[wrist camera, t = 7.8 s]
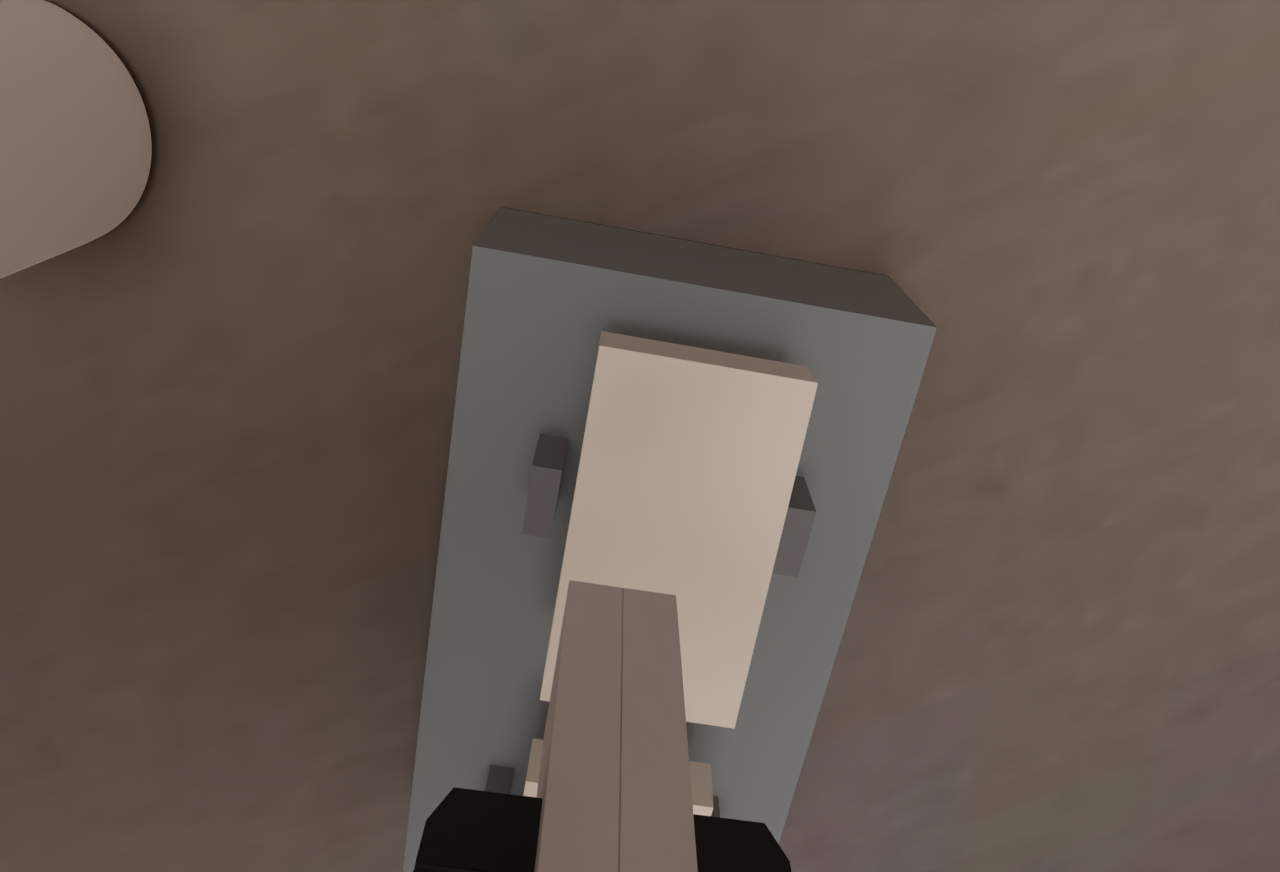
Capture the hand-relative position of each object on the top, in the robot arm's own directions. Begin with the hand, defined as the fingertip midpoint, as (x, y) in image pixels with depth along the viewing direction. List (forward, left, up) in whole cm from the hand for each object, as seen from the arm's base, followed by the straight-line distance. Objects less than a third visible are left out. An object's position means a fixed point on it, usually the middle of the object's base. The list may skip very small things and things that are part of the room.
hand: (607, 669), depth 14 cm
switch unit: (+1, -7, -16) cm, 18 cm away
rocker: (+1, -2, -10) cm, 10 cm away
